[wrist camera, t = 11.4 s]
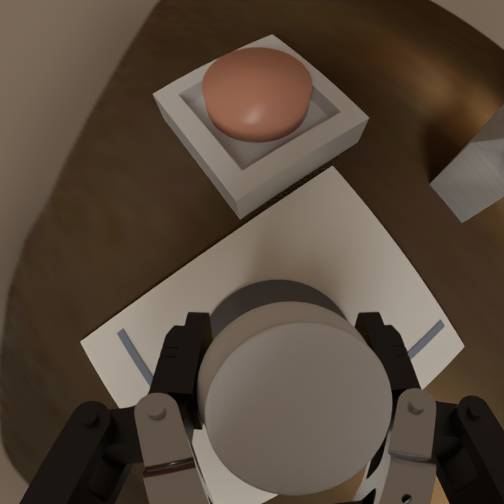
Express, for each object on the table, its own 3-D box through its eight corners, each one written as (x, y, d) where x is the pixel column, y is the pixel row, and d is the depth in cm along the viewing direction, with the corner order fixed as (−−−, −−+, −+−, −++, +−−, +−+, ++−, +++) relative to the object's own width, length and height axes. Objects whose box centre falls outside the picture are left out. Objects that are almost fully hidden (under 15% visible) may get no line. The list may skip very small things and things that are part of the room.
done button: (267, 56, 20) (267, 36, 18) (329, 111, 18) (334, 91, 17) (188, 96, 19) (182, 76, 17) (244, 161, 18) (242, 142, 16)
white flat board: (331, 167, 21) (333, 164, 20) (462, 346, 17) (466, 346, 17) (82, 341, 18) (78, 341, 18) (216, 522, 15) (214, 526, 15)
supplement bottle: (348, 389, 15) (448, 449, 5) (250, 434, 14) (236, 549, 5) (303, 295, 16) (360, 244, 7) (205, 340, 16) (125, 351, 6)
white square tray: (271, 60, 23) (272, 34, 20) (357, 142, 21) (369, 117, 18) (163, 118, 22) (152, 94, 19) (240, 219, 20) (236, 201, 17)
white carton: (429, 184, 20) (506, 103, 10) (468, 142, 21) (532, 69, 11) (461, 223, 19) (553, 161, 10) (496, 175, 20) (570, 114, 11)
